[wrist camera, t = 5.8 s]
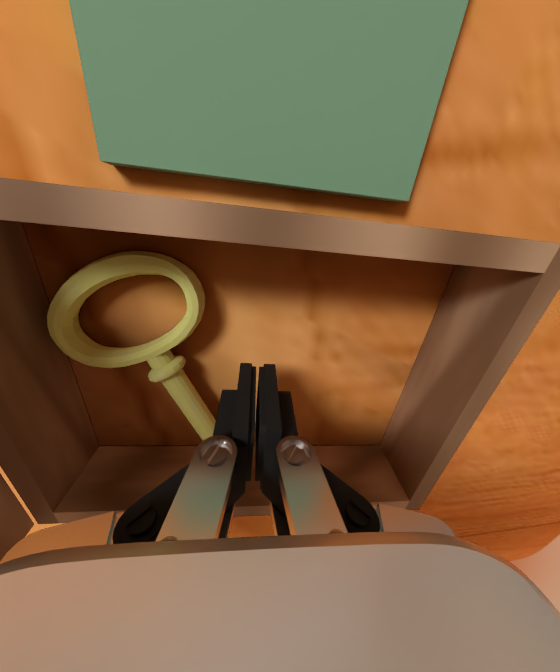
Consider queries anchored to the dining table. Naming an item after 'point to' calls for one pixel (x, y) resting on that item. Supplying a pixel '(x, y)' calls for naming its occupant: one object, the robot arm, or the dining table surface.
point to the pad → (269, 88)
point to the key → (155, 352)
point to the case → (342, 460)
